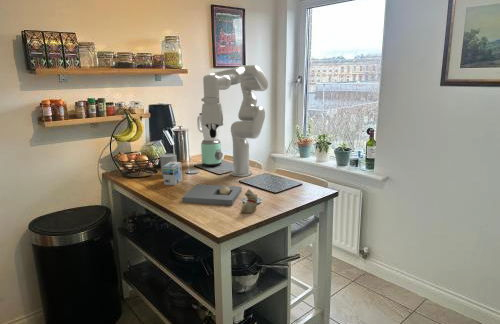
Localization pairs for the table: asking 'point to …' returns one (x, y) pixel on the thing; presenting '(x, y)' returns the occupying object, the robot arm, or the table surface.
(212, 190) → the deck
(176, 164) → the light bulb box
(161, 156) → the grey piece
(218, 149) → the mint green blender
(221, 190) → the ball
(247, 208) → the chocolate bunny
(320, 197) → the table surface
